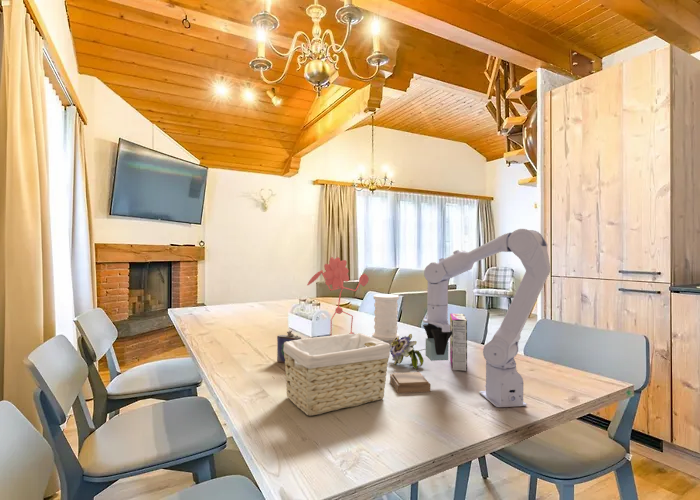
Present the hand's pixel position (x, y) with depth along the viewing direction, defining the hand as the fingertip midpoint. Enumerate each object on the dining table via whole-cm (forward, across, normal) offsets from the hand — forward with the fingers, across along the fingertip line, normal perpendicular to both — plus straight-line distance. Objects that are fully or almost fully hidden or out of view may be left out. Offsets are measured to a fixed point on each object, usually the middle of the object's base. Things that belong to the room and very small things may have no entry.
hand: (436, 351), depth 109 cm
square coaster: (+9, +2, -8) cm, 13 cm away
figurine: (+9, -41, -26) cm, 49 cm away
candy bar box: (+9, -14, +12) cm, 21 cm away
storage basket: (+9, +8, -30) cm, 32 cm away
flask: (+9, -23, -43) cm, 49 cm away
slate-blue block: (+2, 0, 0) cm, 2 cm away
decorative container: (+9, -55, -3) cm, 56 cm away
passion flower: (+9, -18, -4) cm, 21 cm away
